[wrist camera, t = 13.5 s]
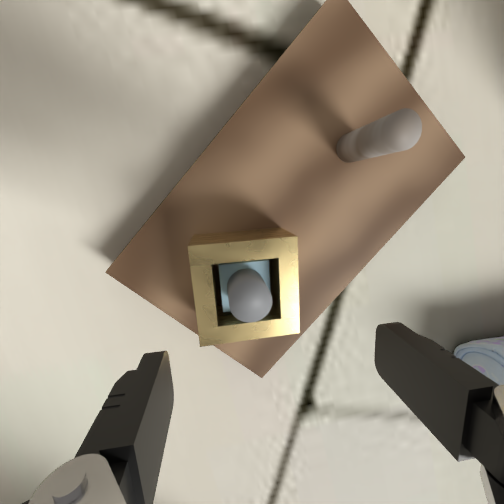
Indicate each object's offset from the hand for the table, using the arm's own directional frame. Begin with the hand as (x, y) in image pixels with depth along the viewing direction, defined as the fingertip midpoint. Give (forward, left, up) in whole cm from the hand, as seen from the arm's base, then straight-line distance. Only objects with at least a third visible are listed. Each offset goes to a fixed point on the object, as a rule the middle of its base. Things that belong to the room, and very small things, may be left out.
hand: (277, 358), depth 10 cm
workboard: (0, -6, -12) cm, 14 cm away
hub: (0, 0, -10) cm, 10 cm away
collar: (0, 0, -10) cm, 10 cm away
